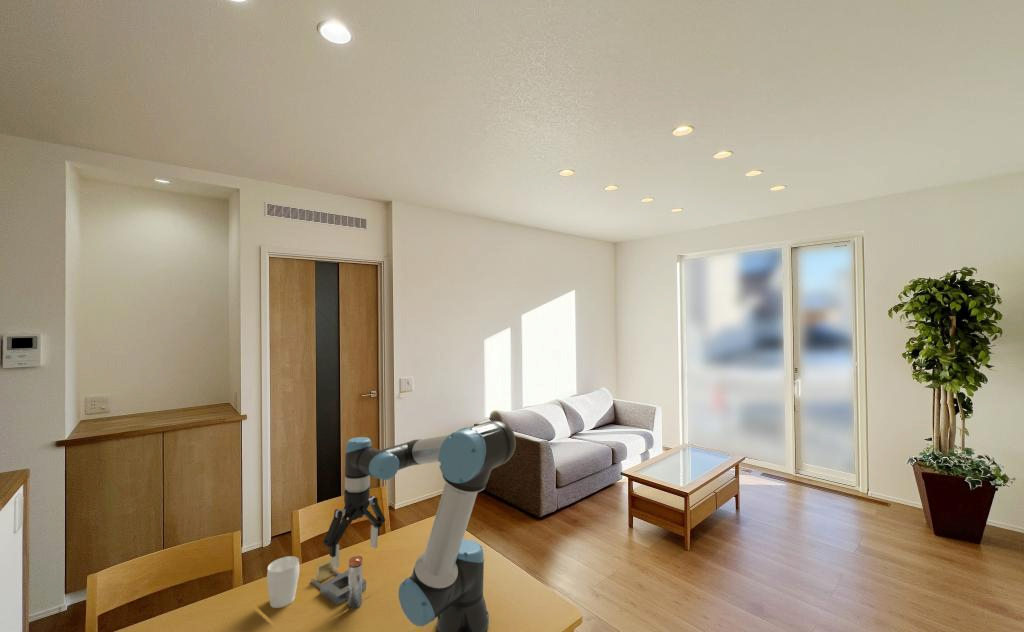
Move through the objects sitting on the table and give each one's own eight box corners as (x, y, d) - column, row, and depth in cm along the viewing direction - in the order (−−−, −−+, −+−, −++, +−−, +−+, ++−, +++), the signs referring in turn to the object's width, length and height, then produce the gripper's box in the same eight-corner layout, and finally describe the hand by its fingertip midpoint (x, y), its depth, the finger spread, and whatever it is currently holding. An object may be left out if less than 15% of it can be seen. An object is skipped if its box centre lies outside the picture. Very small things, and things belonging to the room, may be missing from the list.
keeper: (332, 575, 141) (332, 560, 141) (318, 582, 137) (319, 567, 137) (330, 573, 142) (330, 559, 142) (316, 580, 138) (316, 565, 138)
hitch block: (373, 586, 136) (373, 576, 137) (334, 609, 125) (334, 598, 125) (343, 567, 147) (343, 558, 147) (304, 587, 136) (305, 576, 136)
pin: (364, 603, 128) (365, 558, 128) (352, 611, 125) (353, 564, 125) (356, 598, 130) (357, 554, 131) (345, 605, 127) (346, 560, 127)
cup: (284, 614, 123) (285, 574, 123) (258, 610, 125) (259, 570, 125) (305, 595, 132) (306, 557, 132) (281, 591, 133) (282, 554, 134)
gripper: (383, 474, 141) (381, 536, 140) (312, 497, 121) (310, 570, 120) (397, 479, 136) (395, 543, 136) (325, 504, 116) (323, 580, 116)
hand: (355, 556), depth 128 cm, fingers open, 13 cm apart
